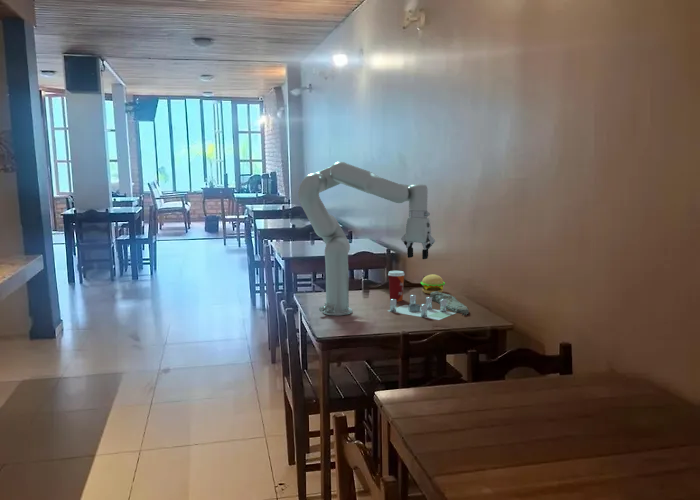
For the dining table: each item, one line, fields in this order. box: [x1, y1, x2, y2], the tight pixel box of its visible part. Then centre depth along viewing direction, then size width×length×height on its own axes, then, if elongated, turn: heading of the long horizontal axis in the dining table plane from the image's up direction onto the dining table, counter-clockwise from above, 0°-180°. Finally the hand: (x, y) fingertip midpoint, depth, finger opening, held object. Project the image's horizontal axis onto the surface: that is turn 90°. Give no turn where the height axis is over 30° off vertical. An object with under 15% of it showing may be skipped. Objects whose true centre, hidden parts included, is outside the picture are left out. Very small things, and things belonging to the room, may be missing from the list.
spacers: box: [389, 294, 447, 318], centre depth 246 cm, size 15×20×5 cm
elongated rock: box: [429, 291, 469, 316], centre depth 259 cm, size 35×5×10 cm
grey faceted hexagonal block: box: [407, 303, 421, 312], centre depth 247 cm, size 4×5×2 cm
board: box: [387, 304, 456, 321], centre depth 245 cm, size 14×25×1 cm, turn 52°
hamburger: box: [420, 273, 446, 295], centre depth 288 cm, size 12×12×9 cm
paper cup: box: [387, 270, 406, 302], centre depth 267 cm, size 8×8×14 cm
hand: (417, 257), depth 243 cm, fingers open, 6 cm apart
